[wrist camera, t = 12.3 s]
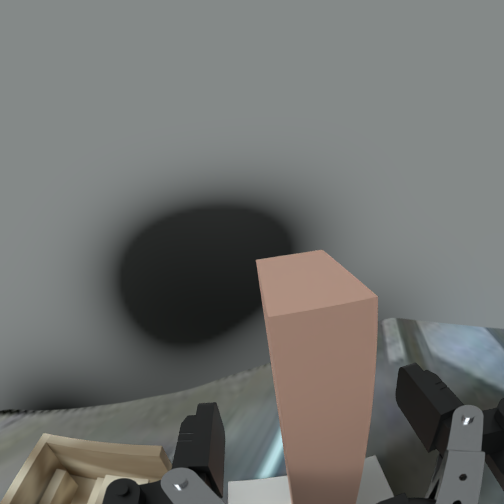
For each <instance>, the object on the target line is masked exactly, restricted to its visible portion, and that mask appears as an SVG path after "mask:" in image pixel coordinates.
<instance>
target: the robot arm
mask: <svg viewBox="0 0 504 504" xmlns="http://www.w3.org/2000/svg"><path fill="white" fill-rule="evenodd" d="M396 401H397V404H398V406H399V408H400V409H401V411H402V412H403V414H404V415H405V417H406V418H407V420H408V421H409V423H410V424H411V426H412V428H413V429H414V431H415V432H416V434H417V435H418V437H419V439H420V440H421V442H422V443H423V445H424V447H425V448H426V450H427V451H428V452H430V451H433V450H435V449H437V450H438V451H439V454H438V456H437V460H436V464H435V468H434V472H433V475H432V479H431V482H430V486H429V489H428V491H427V494H426V496H425V498H407V496H406V494H405V493H403V494H400V495H397V496H394V497H392V498H389V499H386V500H383V501H380V502H378V503H376V504H478V500H479V495H480V489H481V483H482V476H483V469H484V460H485V462H486V463H487V465H488V467H489V468H490V470H491V471H492V473H493V474H494V476H495V478H496V479H497V481H498V482H499V484H500V486H501V487H502V489H503V491H504V398H503V399H501V400H500V402H499V404H498V407H497V408H494V409H489V410H485V411H481V410H480V409H479V408H478V407H476V406H473V405H464V404H463V403H462V402H461V401H460V400H459V399H458V398H457V397H456V395H455V394H454V393H453V392H452V391H451V390H450V389H449V388H447V386H446V384H445V383H444V382H442V380H441V379H440V378H439V377H438V376H437V375H436V374H434V373H432V372H430V371H428V370H425V371H423V370H422V369H421V368H420V366H419V365H418V364H417V363H413V364H410V365H406V366H403V367H400V368H399V372H398V379H397V387H396ZM224 454H225V431H224V426H223V423H222V420H221V416H220V413H219V409H218V406H217V403H216V402H213V403H200V404H198V406H197V412H196V415H190V416H187V417H186V418H185V420H184V421H183V422H182V423H181V427H180V432H179V436H178V442H177V446H176V450H175V455H174V460H173V464H172V468H171V470H170V471H168V472H167V473H165V474H164V475H163V477H162V479H161V480H159V481H156V482H151V483H146V484H140V485H138V484H137V483H136V482H135V481H134V480H132V479H129V478H120V479H117V480H114V481H113V482H111V483H110V484H109V485H108V487H107V488H106V491H105V495H104V498H103V502H102V504H225V503H224V502H223V501H222V500H221V499H220V498H223V478H224Z"/></svg>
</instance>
